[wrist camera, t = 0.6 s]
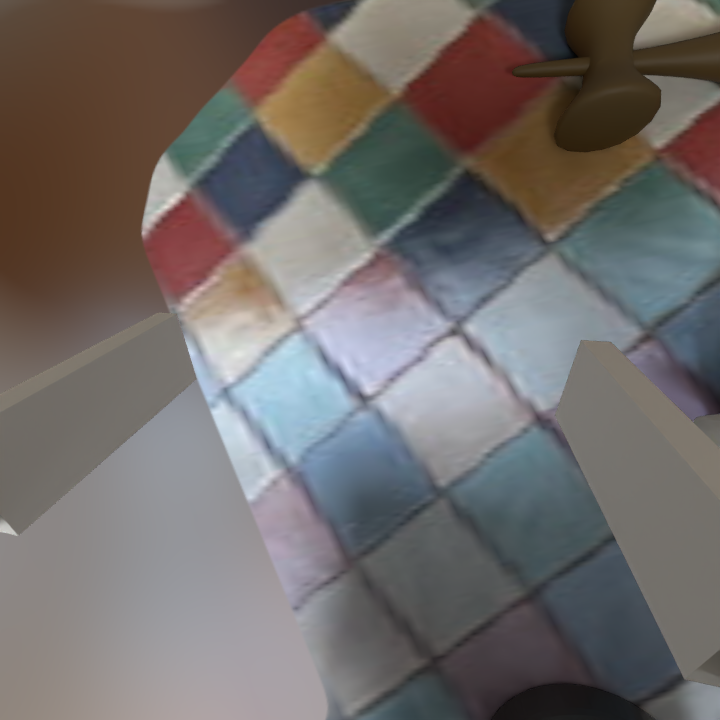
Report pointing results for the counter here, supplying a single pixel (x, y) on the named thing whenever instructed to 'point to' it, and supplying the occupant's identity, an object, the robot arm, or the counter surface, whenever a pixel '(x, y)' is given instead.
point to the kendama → (618, 72)
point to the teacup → (710, 426)
